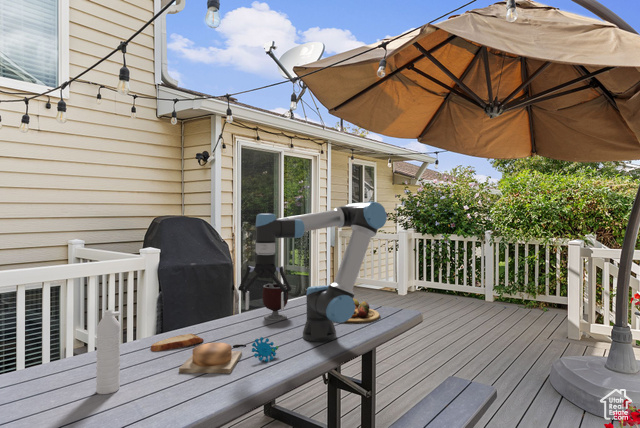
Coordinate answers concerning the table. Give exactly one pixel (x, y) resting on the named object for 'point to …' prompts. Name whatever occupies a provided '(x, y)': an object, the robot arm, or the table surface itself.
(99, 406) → the table surface
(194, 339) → the slice of bread
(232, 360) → the bread on wooden board
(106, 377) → the water bottle
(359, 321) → the wooden plate with food
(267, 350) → the gear
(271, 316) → the mate gourd
